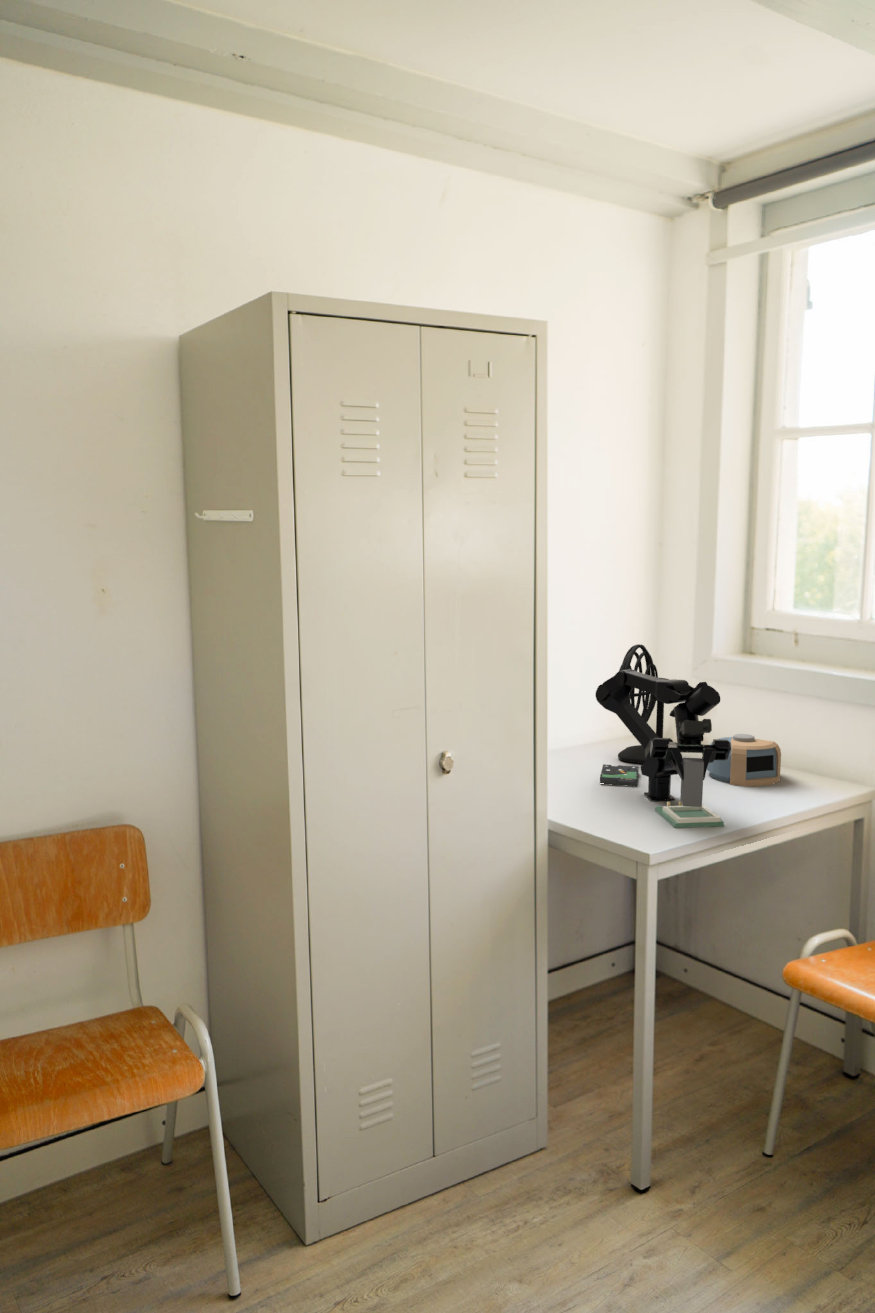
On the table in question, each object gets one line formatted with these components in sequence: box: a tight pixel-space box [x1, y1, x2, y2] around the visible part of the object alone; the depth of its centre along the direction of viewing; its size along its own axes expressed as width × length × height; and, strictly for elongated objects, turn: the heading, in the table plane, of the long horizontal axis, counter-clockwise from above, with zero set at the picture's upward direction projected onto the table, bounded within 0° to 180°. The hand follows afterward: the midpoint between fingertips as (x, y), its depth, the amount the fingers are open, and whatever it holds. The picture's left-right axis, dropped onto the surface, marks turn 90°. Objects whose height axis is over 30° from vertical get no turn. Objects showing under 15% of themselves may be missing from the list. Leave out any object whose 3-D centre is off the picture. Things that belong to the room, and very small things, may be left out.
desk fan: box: [617, 644, 670, 764], centre depth 293 cm, size 27×18×35 cm, turn 152°
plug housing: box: [679, 757, 704, 807], centre depth 230 cm, size 4×4×11 cm
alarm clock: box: [706, 733, 782, 787], centre depth 271 cm, size 19×20×12 cm
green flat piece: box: [654, 800, 725, 829], centre depth 233 cm, size 14×12×2 cm
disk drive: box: [599, 763, 639, 787], centre depth 270 cm, size 10×3×15 cm
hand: (693, 779), depth 229 cm, fingers closed on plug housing, 4 cm apart
